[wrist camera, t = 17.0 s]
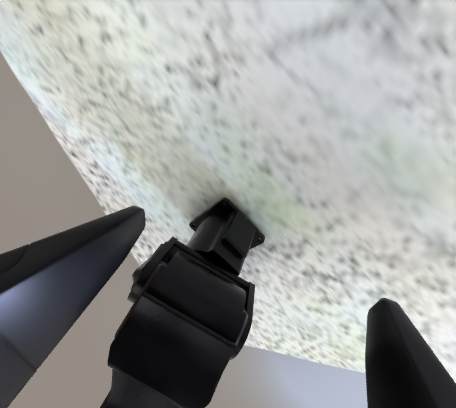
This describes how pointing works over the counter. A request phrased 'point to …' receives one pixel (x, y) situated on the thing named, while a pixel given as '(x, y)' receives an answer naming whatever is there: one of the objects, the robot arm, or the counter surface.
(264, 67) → the counter surface
